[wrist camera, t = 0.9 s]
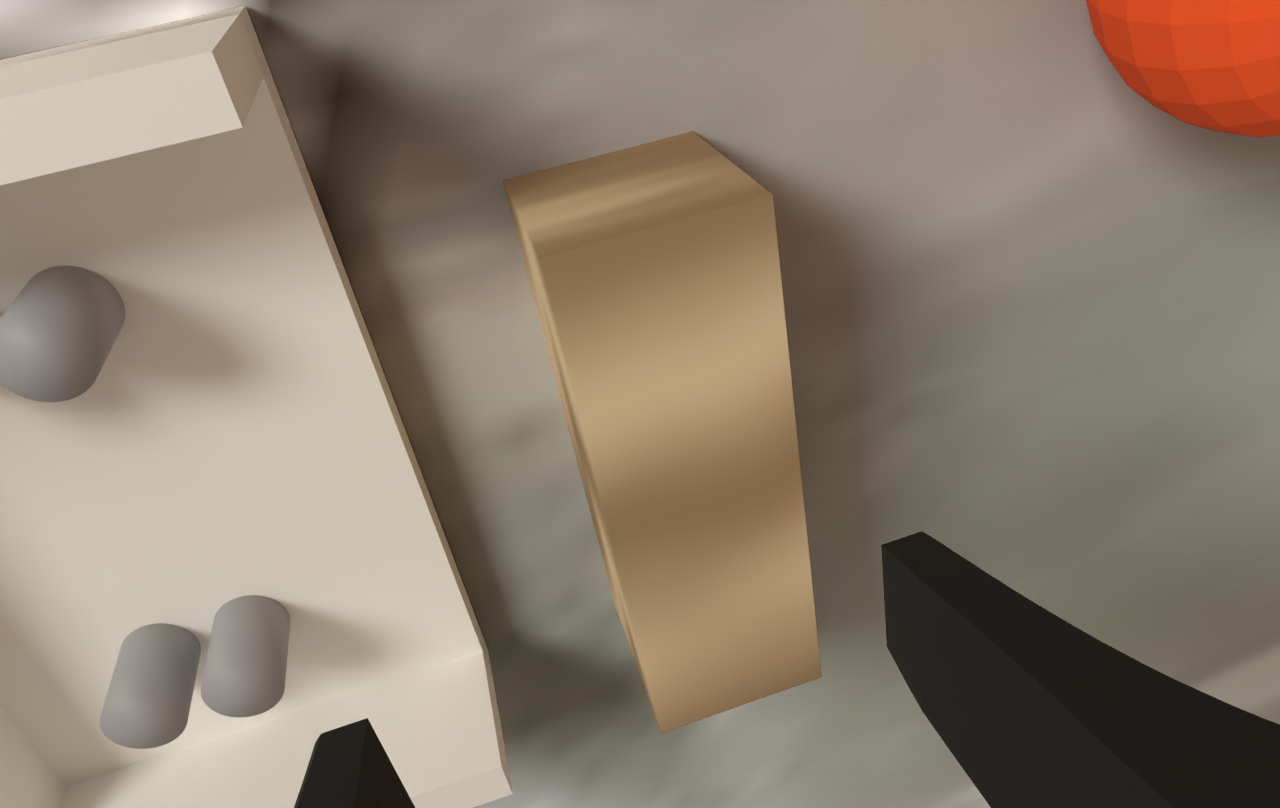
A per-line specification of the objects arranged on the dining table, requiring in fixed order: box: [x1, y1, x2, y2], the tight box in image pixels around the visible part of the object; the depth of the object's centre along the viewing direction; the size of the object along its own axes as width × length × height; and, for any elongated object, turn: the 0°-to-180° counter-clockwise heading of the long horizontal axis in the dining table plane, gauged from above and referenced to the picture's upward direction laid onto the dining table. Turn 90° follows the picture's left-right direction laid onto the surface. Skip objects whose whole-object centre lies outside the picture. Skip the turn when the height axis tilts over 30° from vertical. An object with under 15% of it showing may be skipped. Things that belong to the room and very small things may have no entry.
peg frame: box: [0, 6, 513, 808], centre depth 17 cm, size 16×11×4 cm
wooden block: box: [503, 131, 822, 733], centre depth 20 cm, size 12×4×4 cm, turn 11°
